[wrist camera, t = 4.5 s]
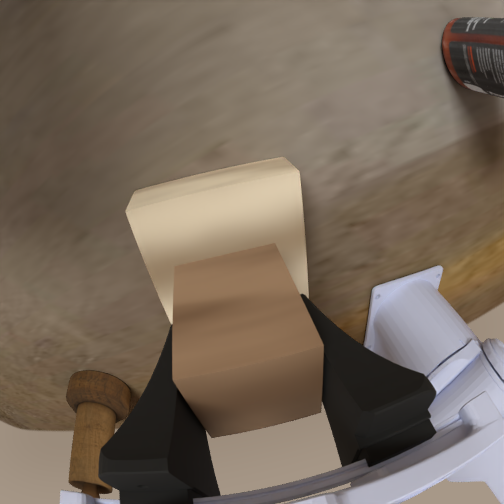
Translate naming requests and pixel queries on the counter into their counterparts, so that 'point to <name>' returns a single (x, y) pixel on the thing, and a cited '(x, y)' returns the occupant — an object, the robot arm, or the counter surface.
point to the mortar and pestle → (94, 425)
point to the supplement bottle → (476, 53)
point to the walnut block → (244, 342)
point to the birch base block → (220, 220)
